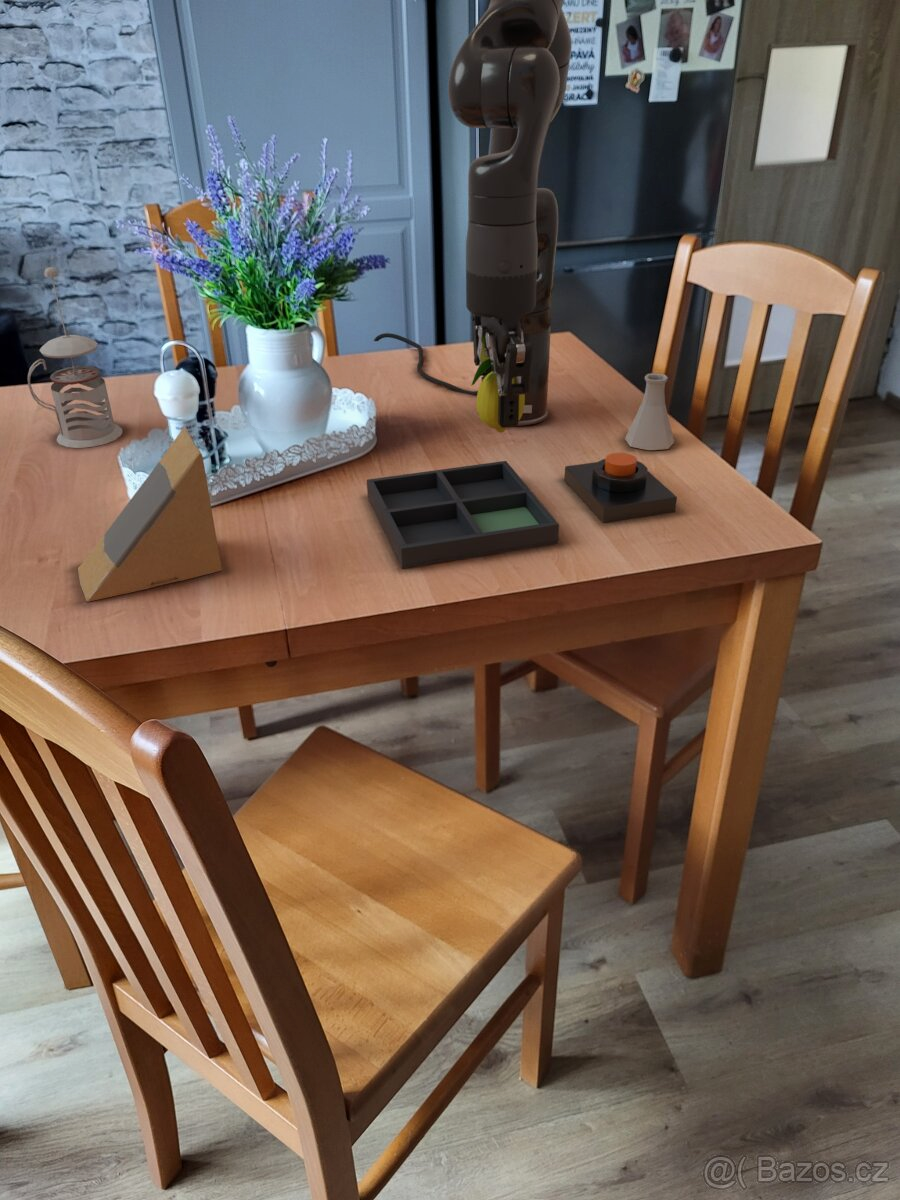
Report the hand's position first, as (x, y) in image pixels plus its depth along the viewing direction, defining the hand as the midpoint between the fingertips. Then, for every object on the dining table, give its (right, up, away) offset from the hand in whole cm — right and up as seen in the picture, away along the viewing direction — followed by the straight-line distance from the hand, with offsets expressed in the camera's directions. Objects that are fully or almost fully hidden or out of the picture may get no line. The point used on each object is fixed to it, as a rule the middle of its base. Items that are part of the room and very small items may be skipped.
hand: (499, 415), depth 108 cm
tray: (-5, -11, +11) cm, 16 cm away
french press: (-62, +4, +36) cm, 72 cm away
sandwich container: (-41, -18, +1) cm, 45 cm away
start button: (+16, -5, +14) cm, 22 cm away
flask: (+24, +2, +31) cm, 39 cm away
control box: (+16, -8, +16) cm, 24 cm away
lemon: (0, -2, +1) cm, 2 cm away
